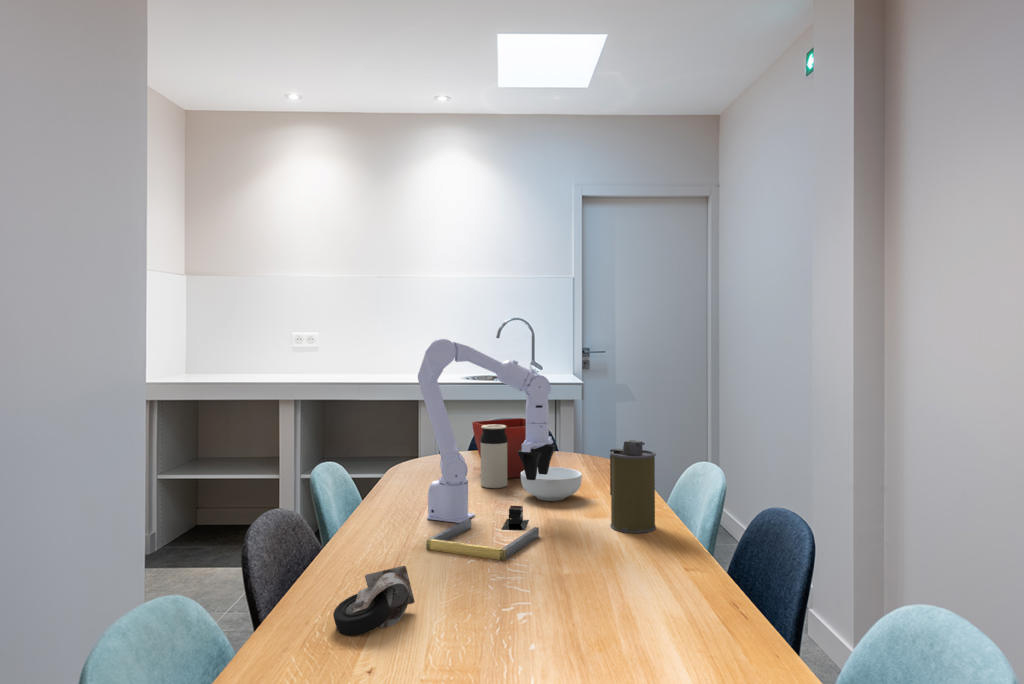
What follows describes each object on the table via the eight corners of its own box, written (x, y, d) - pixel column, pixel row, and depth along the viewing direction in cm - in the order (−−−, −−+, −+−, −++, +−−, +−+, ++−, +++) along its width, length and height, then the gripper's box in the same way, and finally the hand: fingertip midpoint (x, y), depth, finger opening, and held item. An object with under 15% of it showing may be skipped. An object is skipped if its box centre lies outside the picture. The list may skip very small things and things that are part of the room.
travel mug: (512, 485, 204) (512, 425, 204) (497, 490, 197) (497, 428, 197) (490, 482, 208) (490, 423, 208) (475, 486, 202) (475, 426, 202)
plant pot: (496, 482, 208) (496, 427, 208) (471, 472, 225) (470, 421, 225) (550, 476, 216) (550, 424, 216) (521, 466, 233) (521, 418, 233)
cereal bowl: (511, 501, 183) (511, 475, 183) (532, 489, 199) (532, 465, 199) (571, 507, 177) (571, 480, 177) (588, 494, 192) (588, 469, 192)
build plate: (527, 535, 154) (527, 515, 154) (496, 534, 155) (496, 513, 155) (533, 520, 166) (533, 501, 166) (503, 519, 167) (503, 500, 167)
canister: (664, 526, 158) (664, 441, 158) (640, 536, 150) (639, 446, 150) (625, 518, 166) (624, 436, 165) (600, 527, 158) (599, 441, 158)
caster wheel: (336, 654, 100) (346, 617, 110) (411, 636, 100) (415, 600, 110) (324, 614, 99) (336, 579, 109) (401, 595, 99) (405, 563, 109)
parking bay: (426, 549, 142) (426, 539, 142) (467, 527, 158) (467, 518, 158) (504, 560, 134) (504, 550, 134) (538, 536, 150) (538, 527, 150)
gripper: (540, 426, 161) (540, 483, 161) (562, 420, 174) (562, 473, 174) (513, 425, 164) (513, 481, 164) (537, 418, 177) (537, 470, 177)
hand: (537, 476), depth 169 cm, fingers open, 7 cm apart
